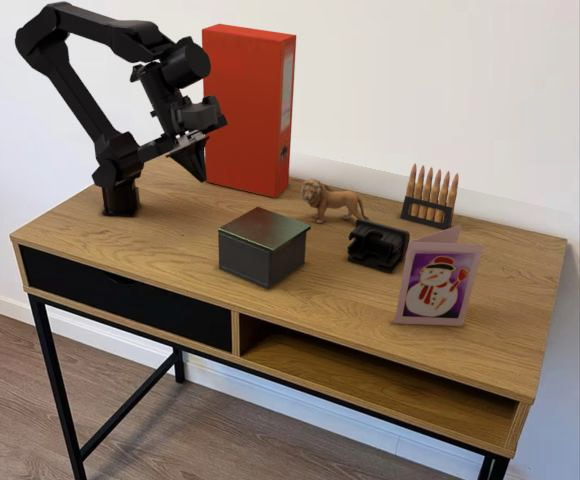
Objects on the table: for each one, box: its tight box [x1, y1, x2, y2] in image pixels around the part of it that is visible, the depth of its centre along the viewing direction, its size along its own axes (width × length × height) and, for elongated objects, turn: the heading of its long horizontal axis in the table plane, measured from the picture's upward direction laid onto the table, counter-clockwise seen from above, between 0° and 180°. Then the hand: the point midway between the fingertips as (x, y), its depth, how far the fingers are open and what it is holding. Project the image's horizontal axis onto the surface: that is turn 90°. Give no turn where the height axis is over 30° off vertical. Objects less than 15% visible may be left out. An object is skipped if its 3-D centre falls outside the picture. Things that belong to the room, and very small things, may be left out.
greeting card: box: [393, 224, 485, 327], centre depth 102 cm, size 11×7×15 cm, turn 90°
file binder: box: [201, 23, 297, 198], centre depth 136 cm, size 8×17×32 cm, turn 67°
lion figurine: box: [300, 178, 370, 226], centre depth 131 cm, size 15×5×9 cm, turn 94°
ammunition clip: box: [400, 163, 460, 230], centre depth 131 cm, size 11×2×12 cm, turn 62°
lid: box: [217, 206, 312, 254], centre depth 112 cm, size 12×12×1 cm
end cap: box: [346, 218, 411, 274], centre depth 119 cm, size 10×7×7 cm
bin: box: [217, 231, 308, 290], centre depth 115 cm, size 11×12×7 cm
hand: (204, 181), depth 118 cm, fingers closed
